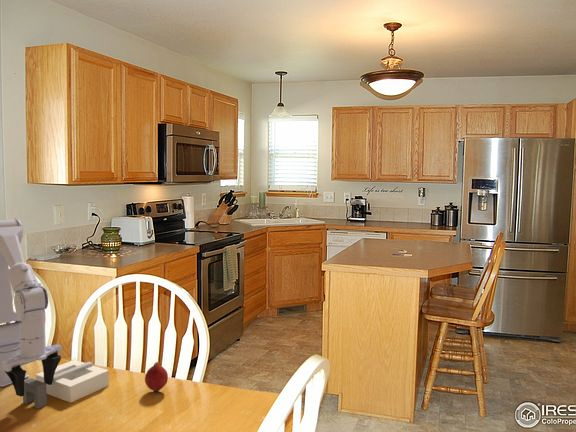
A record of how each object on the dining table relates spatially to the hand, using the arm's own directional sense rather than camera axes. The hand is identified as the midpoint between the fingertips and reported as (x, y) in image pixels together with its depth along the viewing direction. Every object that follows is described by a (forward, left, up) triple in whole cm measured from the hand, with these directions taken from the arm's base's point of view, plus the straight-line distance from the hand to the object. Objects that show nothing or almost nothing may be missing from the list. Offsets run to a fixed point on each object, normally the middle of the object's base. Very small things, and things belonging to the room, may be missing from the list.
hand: (34, 389), depth 131 cm
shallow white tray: (0, +11, -4) cm, 12 cm away
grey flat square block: (0, 0, -4) cm, 4 cm away
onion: (+21, +21, -4) cm, 30 cm away
